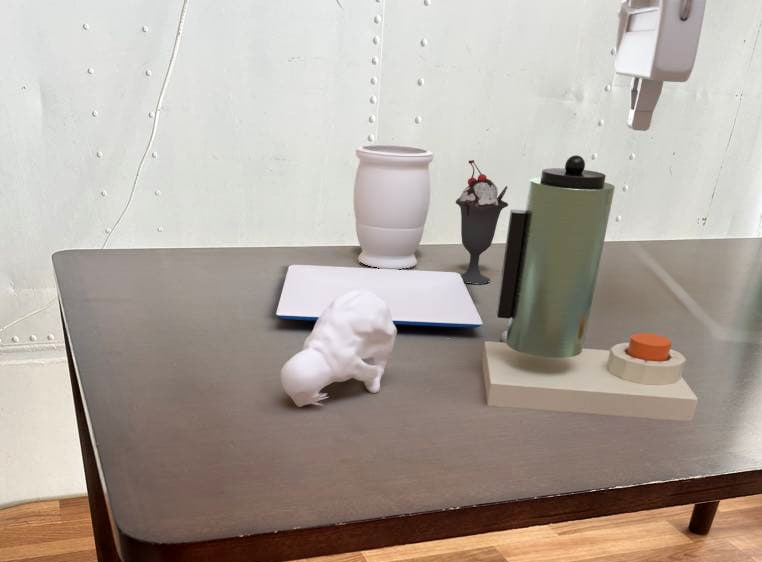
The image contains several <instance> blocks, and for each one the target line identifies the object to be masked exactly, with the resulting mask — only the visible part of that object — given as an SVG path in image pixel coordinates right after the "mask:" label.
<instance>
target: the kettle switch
mask: <svg viewBox="0 0 762 562" xmlns="http://www.w3.org/2000/svg"><path fill="white" fill-rule="evenodd" d="M628 343H629V347H628V352H627V355H629V356H631V357H633V358H637V359H641V360H645V361H657V362H662V361H667V359H668V355H669V351H670V349H671V348H672V343H673V342H672V340H671V339H670V338H667V337H666V336H663V335H659V334H654V333H645V332H644V333H643V332H642V333H634V334H632V335H631V336H630V338H629V342H628Z"/></svg>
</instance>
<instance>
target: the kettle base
mask: <svg viewBox="0 0 762 562" xmlns="http://www.w3.org/2000/svg"><path fill="white" fill-rule="evenodd" d="M483 343H484V344H483V352H482V358H481V359H482V360H481V364H482V372H483V373H482V374H483V381H484V389H485V396H486V404H487V407H497V408H498V407H499V408H508V409H521V410H522V409H524V410H536V411H548V412H559V413H560V412H563V413H574V414H586V415H598V416H599V415H600V416H610V417H611V416H612V417H623V418H637V419H649V420H662V421H674V422H675V421H677V422H687V423H688V422H689V423H692V422H693V419H694V416H695V412H696V408H697V405H698V402H699V398H698V397H697V396H696V394H695V393H694V391H693V390H692V388H691V387H690V385H688V383H687V381H686V380H685V379H684V377H683V373H684V368H685V365H686V361H687V359H686V357H684V355H683V354H682V352H681V353H680V352H679V351H676V350H674V349H671V348H670V351H669V355H668V359H667V361H662V362H657V361H645V360H641V359H637V358H633V357H631V356H629V355H627V352H628V347H629V343H630V342H622V343H617V344H615V345H614V346H612V347H611V348H610V349H609V350H608V349H595V348H583V351H582V352H581V353H580V354H579V355H577V356H574V357H569V358H543V357H536V356H531V355H527V354H523V353H520V352H518V351H515V350H513V349H512V348H510V347H509V346H508V345H507V343H503V342H502V341H501V342H500V341H487V340H486V341H484V342H483Z"/></svg>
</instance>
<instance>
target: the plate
mask: <svg viewBox="0 0 762 562" xmlns="http://www.w3.org/2000/svg"><path fill="white" fill-rule="evenodd" d="M285 275H286V276H285V278H284V279H285V280H284V284H283V286H282V291H281V294H280V298H279V301H278V305H277V309H276V313H275V315H276V316H277V317H278V318H279V319H284V320H296V321H297V320H298V321H309V322H310V321H311V322H317V320H318V318H319V317H320V316H321V315H322V313H323V311H324V310H325V309H326V308H327V307H328V306H329V305H330V304H331V303H332V302H333V301H334V300H335V299H336V298H337V297H339V296H340V295H342V294H344V293H346V292H348V291H351V290H368V291H370V292H372V293H373V294H375V295H376V296H377V297H379V298H380V299H382V300H384V301H385V302H386V304H387V305H388V307H389V309H390V312H391V316H392V321H393V324H394V325H395V326H411V327H412V326H413V327H415V326H416V327H437V328H438V327H439V328H479V327H482V325H483V324H484V323H483V320H482V318H481V316H480V314H479V312H478V310H477V308H476V305H475V304H474V301H473V299H472V297H471V295H470V292H469V290H468V289H467V286H466V283H464V282H463V280H462V277H461V275H460V273H459V272H455V271H435V270H417V269H401V270H396V269H378V268H373V267H354V266H353V267H351V266H334V265H333V266H330V265H327V266H326V265H310V264H309V265H308V264H292V265H289V266H288V268H287V272H286V274H285Z"/></svg>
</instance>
